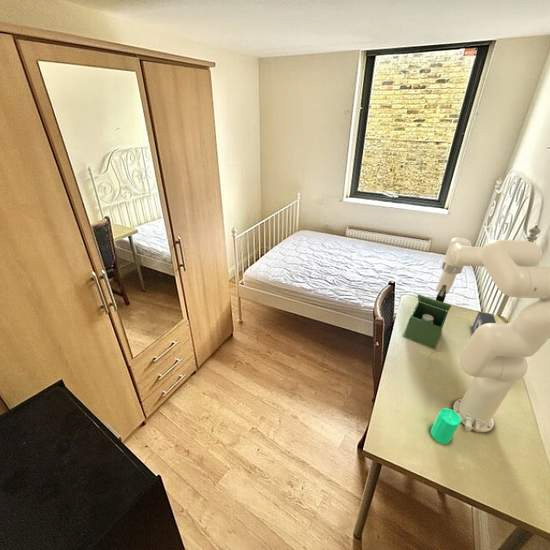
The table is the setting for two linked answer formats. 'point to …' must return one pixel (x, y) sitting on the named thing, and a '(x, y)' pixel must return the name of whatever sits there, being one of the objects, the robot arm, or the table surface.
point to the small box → (482, 320)
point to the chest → (425, 324)
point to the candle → (445, 425)
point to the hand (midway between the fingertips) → (439, 302)
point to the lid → (434, 302)
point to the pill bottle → (427, 318)
